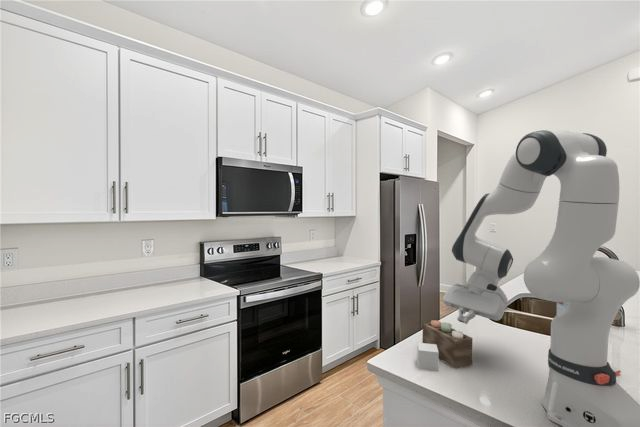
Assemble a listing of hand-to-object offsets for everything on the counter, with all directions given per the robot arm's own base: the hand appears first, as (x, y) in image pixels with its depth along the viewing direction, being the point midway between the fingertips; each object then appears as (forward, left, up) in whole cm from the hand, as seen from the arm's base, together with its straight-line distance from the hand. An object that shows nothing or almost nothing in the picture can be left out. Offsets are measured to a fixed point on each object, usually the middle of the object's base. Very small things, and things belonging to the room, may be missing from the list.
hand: (461, 321), depth 105 cm
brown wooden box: (+5, +2, -13) cm, 14 cm away
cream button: (0, +2, -6) cm, 6 cm away
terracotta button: (+10, +2, -6) cm, 12 cm away
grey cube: (+2, +12, -14) cm, 18 cm away
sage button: (+5, +2, -5) cm, 7 cm away
